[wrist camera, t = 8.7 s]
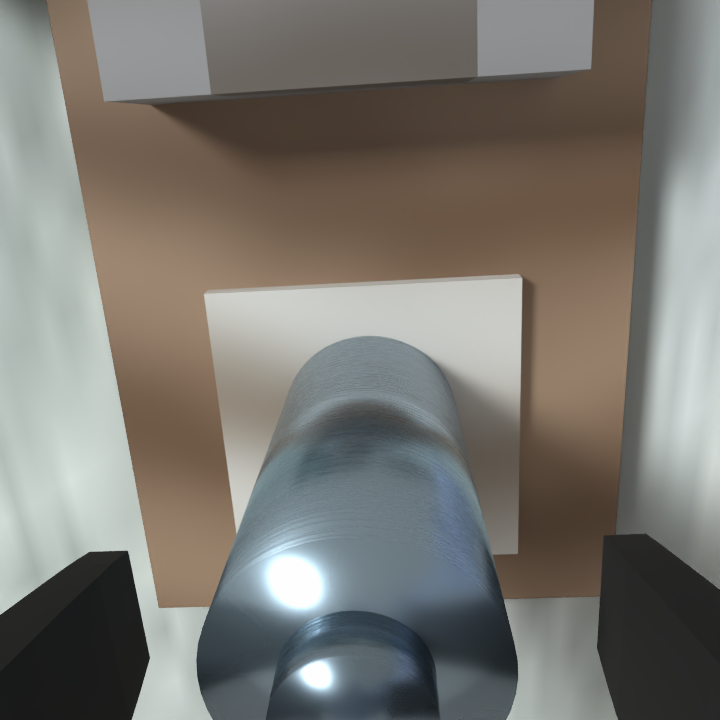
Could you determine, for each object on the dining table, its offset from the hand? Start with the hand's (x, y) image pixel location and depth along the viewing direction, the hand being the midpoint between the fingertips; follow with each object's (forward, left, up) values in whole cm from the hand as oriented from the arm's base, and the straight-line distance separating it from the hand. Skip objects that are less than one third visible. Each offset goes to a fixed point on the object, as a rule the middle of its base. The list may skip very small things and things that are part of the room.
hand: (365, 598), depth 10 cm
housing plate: (+4, -4, -8) cm, 9 cm away
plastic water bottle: (0, 0, -6) cm, 6 cm away
